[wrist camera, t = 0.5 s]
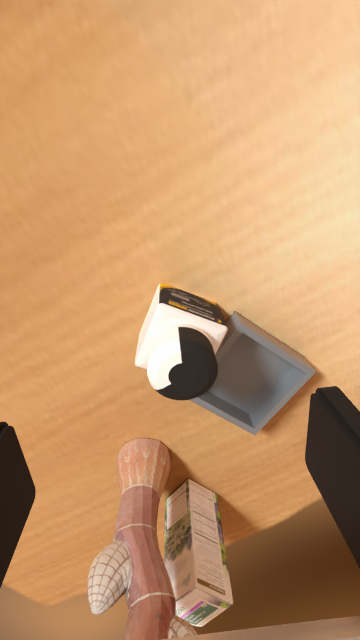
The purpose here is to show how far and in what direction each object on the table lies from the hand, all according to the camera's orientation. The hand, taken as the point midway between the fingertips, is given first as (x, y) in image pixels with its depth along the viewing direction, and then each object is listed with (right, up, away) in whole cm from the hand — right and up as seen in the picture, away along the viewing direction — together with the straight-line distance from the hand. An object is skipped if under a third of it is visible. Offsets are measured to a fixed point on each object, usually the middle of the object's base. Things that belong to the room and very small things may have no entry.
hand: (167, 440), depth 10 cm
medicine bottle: (0, +4, +28) cm, 28 cm away
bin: (+8, -2, +31) cm, 32 cm away
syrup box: (+2, -23, +40) cm, 46 cm away
